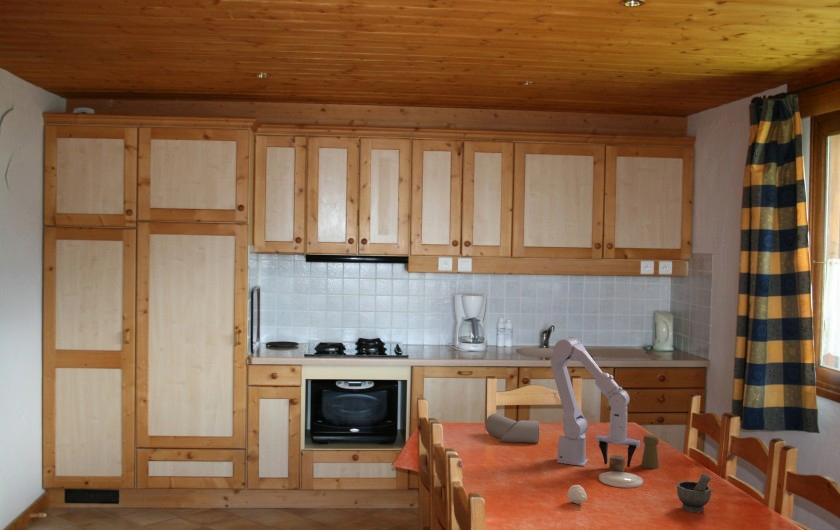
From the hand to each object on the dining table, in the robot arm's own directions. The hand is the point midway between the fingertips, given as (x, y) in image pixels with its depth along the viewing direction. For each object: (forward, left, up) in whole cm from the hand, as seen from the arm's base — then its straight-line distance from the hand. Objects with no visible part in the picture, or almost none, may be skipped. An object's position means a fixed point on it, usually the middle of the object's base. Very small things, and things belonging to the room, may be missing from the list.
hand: (617, 465), depth 268 cm
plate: (+3, -12, -2) cm, 12 cm away
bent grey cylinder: (-44, +22, -2) cm, 49 cm away
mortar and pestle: (+27, -30, -2) cm, 40 cm away
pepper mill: (+10, +10, -2) cm, 14 cm away
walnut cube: (0, 0, -2) cm, 2 cm away
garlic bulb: (-5, -41, -2) cm, 41 cm away
